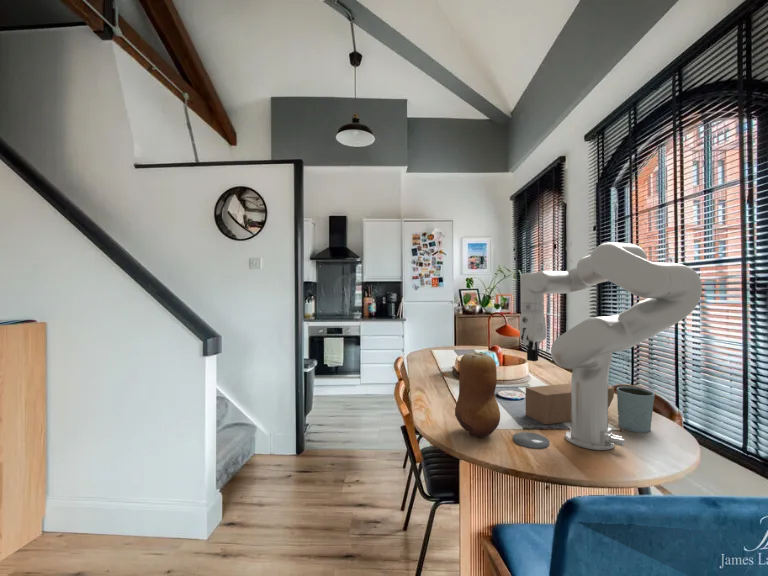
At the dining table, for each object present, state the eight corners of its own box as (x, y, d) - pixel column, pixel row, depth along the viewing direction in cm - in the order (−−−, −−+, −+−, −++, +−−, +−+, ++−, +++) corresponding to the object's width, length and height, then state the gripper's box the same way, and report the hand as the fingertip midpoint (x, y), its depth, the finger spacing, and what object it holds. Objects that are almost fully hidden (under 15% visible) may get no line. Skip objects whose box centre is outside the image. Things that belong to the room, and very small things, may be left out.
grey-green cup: (616, 419, 124) (616, 384, 124) (652, 425, 119) (652, 389, 119) (617, 429, 115) (617, 392, 115) (656, 436, 110) (656, 397, 110)
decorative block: (525, 387, 129) (591, 381, 138) (525, 415, 129) (591, 407, 138) (545, 395, 119) (614, 387, 128) (545, 424, 119) (614, 415, 128)
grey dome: (555, 442, 106) (555, 439, 106) (538, 451, 100) (538, 449, 100) (524, 431, 114) (524, 429, 114) (506, 439, 108) (506, 437, 108)
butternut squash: (508, 434, 112) (508, 353, 112) (485, 447, 102) (485, 359, 103) (470, 422, 122) (470, 348, 122) (445, 433, 113) (445, 352, 113)
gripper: (531, 309, 119) (531, 365, 119) (553, 307, 128) (553, 359, 128) (510, 308, 125) (511, 361, 125) (532, 307, 134) (533, 356, 134)
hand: (532, 360), depth 126 cm, fingers closed
